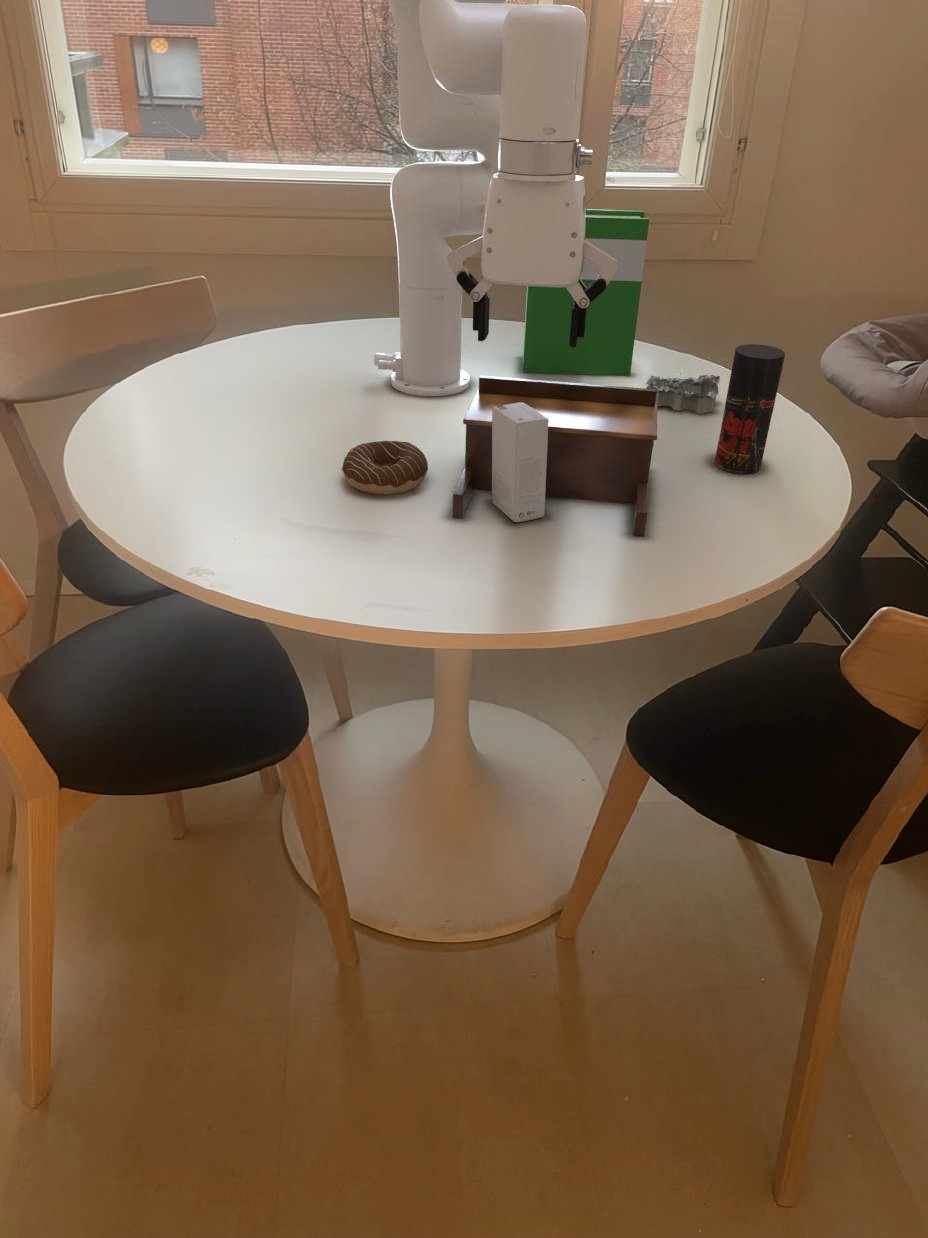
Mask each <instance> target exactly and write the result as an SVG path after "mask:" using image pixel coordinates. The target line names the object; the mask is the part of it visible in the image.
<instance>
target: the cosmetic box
mask: <svg viewBox="0 0 928 1238" xmlns="http://www.w3.org/2000/svg"><path fill="white" fill-rule="evenodd" d="M548 422H549V419H548V418H546V417H545V416H543V415H542V414H540V413H539V412H537V411H536V410H534V409H532V408H531V407H529V406H528V405H526V404H525V403H523V402H520V403H513V404H508V405H502V406H497V407H493V408H492V491H491V503H492V504H493V505H494V506H496V507H497V508H498V510H500V511H501V512H502V513H504V514H505V516H507V517H508V519H510V520H512V521H513V522H514V523H520V522H521V523H522V522H526V521H531V520H538V519H540V518H541V519H542V518H544V517H545V513H546V496H545V490H546V467H547V445H548Z"/></svg>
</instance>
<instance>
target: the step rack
mask: <svg viewBox="0 0 928 1238" xmlns="http://www.w3.org/2000/svg"><path fill="white" fill-rule="evenodd" d="M656 395H657V389H647V387H633V386H621V385H620V386H618V385H606V384H595V383H581V382H580V383H579V382H567V381H553V380H541V379H528V378H517V377H516V378H515V377H503V376H501V377H500V376H491V375H490V376H489V375H480V376H479V377H478V390H477V391H476V393H475V395H474V397H473V399H472V400H471V403H470V405H469V407H468V409H467V411H466V413H465V415H464V417H463V420H462V425H465V448H464V450H465V452H464V454H465V455H464V456H465V457H464V459H465V460H464V468H463V470H462V473H461V474H460V477H459V479H458V481H457V484H456V487H455V489H454V491H453V493H452V518H456V519H463V518H464V516H465V513H466V510H467V509H468V506H469V504H470V501H471V499H472V495H473V494H474V493H473V492H474V490H477V491H487V492H488V491H489V492H492V408H493V407H497V406H502V405H508V404H513V403H520V402H523V403H525V404H526V405H528V406H529V407H531V408H532V409H534V410H536V411H537V412H539V413H540V414H542V415H543V416H545V417H546V418H548V419H549V422H548V445H547V467H546V490H545V497H550V498H551V497H552V498H562V499H574V500H582V501H583V500H584V501H594V502H595V501H596V502H603V503H604V502H605V503H617V504H625V505H626V504H627V505H634V511H633V533H632V535H633V536H639V537H644V536H645V532H646V526H647V519H648V505H649V504H648V503H649V501H648V499H649V498H648V497H649V496H648V495H649V493H648V492H649V478H650V471H651V465H652V463H651V462H652V456H653V449H654V442H655V441H657V440H658V407H657V405H656V404H655V402H656Z"/></svg>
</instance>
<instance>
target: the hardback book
mask: <svg viewBox="0 0 928 1238" xmlns="http://www.w3.org/2000/svg"><path fill="white" fill-rule="evenodd" d="M645 213H646V211H645V210H632V209H631V210H630V209H627V210H626V209H599V208H586V224H585V240H586V241H588V242H589V243H591V244H593V245H594V246H596V247H597V248H599V249H601V250H602V251H604V252H605V253H607V254H608V255H610V256H612V257H613V258H615V259H616V260H617V261H618V262H619V266H618V269H617V271H616V272H615V274H614V276H613V277H612V279H611V281H610V282H609V284H608V285H607V287H606V289H605V290H604V291H603V292H602V293H601V294H600V295H599V296H598V297H597V298H596V299H594V300H593V301H592V302H591V303H590V304H589V305H588V307H587V312H586V324H585V334H584V337H578V341H577V345H576V347H571V346H569V342H570V329H571V316H572V308H573V304H574V303H575V300H574V298H573V297H572V296H571V294H570V293H569V291H568V290H567V288H566V287H562V288H557V287H536V286H526V298H525V299H526V300H525V301H526V302H525V316H524V317H525V319H524V334H523V335H524V337H523V353H522V373H534V374H535V373H536V374H563V375H589V376H590V375H592V376H615V377H617V376H618V377H631V372H632V363H633V355H634V354H633V353H634V347H635V339H636V332H637V325H638V324H637V323H638V315H639V308H640V307H639V306H640V299H641V291H642V283H643V275H644V267H645V259H646V258H645V257H646V249H647V241H648V233H649V225H650V217H645ZM600 272H601V268H600V267H599V266H598V265H596V264H594V263H593V262H591V261H590V260H588V259H586V258H585V257H584V262H583V269H582V273H581V275H580V279H581V280H582V282H583V283H584V285H585V286H586V287H588V286H589V285H590V284H591V283H592V282H594V281H595V280H596V279H597V278H598V276H599V274H600Z"/></svg>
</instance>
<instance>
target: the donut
mask: <svg viewBox="0 0 928 1238" xmlns="http://www.w3.org/2000/svg"><path fill="white" fill-rule="evenodd" d="M341 471H342V472H343V475H344V478H345V480H346V481H347V482H348V483H349V484H350V485H351V486H352V487H353V488H355V489H357V490H359V491H361V492H364V493H368V494H372V495H373V494H374V495H396V494H401V493H406V492H408V491H410V490H412V489H414V488H416V487H418V486H419V485H420V484H421V483H422V482H423V481H424V480H425V478H426V476H427V473H428V471H429V464H428V460H427V457H426V456H425V454H424V452H423V451H422V450H421V448H419V447H417V446H416V445H415V444H412V443H411V442H408V441H401V440H380V441H378V440H377V441H371V442H365V443H360V444H357V445H356V446H354V447H352V448H351V449H350V450H349V451H348V452H347V454H346V456H345V457H344V459H343V462H342V468H341Z"/></svg>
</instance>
